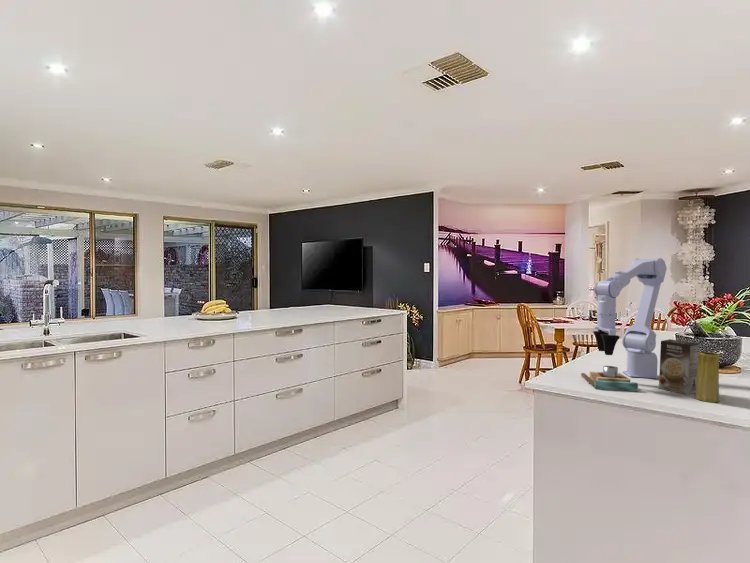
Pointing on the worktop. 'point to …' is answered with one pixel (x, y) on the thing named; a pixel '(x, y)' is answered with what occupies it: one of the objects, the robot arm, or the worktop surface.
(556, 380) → the worktop surface
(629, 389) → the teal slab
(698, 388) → the vase
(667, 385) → the coffee box
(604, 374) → the cylinder
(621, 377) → the wooden tray
